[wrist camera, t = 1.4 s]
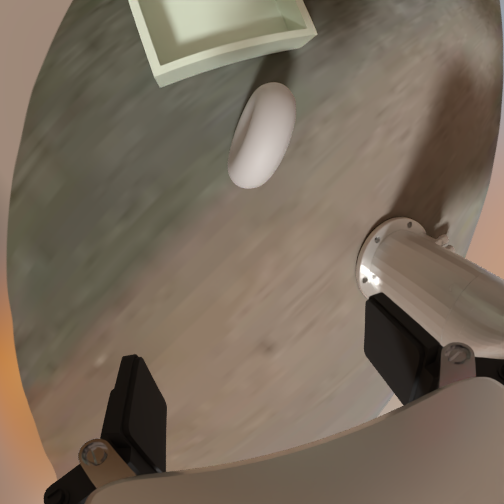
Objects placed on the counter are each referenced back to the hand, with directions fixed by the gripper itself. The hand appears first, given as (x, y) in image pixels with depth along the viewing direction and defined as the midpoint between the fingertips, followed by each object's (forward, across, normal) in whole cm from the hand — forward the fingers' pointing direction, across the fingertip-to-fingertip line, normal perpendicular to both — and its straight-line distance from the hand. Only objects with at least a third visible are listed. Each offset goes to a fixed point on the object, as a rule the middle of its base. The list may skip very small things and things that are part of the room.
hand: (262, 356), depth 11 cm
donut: (+22, -5, -8) cm, 24 cm away
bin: (+22, -3, -24) cm, 33 cm away
